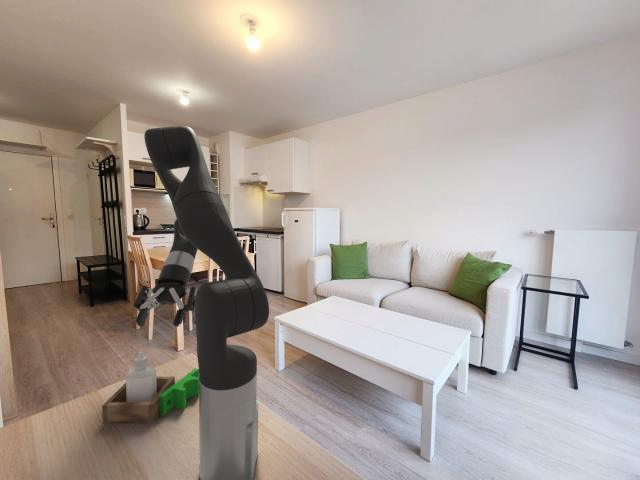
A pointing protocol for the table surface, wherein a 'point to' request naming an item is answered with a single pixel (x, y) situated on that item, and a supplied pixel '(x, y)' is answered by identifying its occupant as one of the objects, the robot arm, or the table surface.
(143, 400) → the eye dropper bottle
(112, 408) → the box
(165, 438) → the table surface
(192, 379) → the pipe clamp
